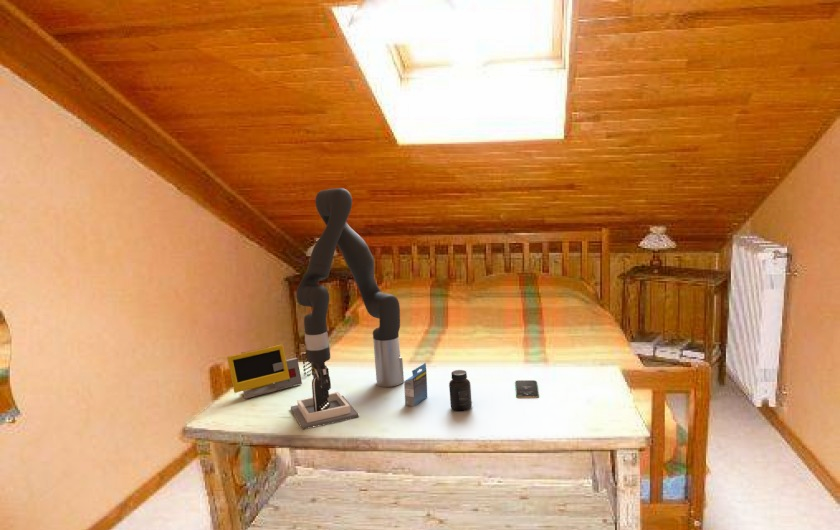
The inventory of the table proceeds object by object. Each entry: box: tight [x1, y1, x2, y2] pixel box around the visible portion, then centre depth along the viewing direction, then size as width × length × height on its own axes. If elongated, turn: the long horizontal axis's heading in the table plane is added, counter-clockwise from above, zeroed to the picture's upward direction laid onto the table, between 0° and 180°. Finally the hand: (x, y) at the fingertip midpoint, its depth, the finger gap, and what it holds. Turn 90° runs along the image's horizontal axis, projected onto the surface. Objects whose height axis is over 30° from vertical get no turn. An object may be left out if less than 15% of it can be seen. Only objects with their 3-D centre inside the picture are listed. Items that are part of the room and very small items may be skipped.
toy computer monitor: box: [226, 344, 290, 400], centre depth 222 cm, size 20×8×16 cm, turn 122°
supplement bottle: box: [448, 369, 473, 413], centre depth 197 cm, size 7×7×12 cm
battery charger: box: [311, 376, 332, 412], centre depth 199 cm, size 7×4×11 cm, turn 162°
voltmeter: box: [273, 352, 312, 391], centre depth 234 cm, size 27×11×10 cm, turn 158°
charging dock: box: [290, 391, 360, 430], centre depth 200 cm, size 18×18×4 cm
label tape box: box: [403, 362, 428, 407], centre depth 205 cm, size 9×4×12 cm, turn 150°
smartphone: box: [514, 379, 540, 399], centre depth 209 cm, size 8×1×15 cm
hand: (322, 393), depth 200 cm, fingers open, 8 cm apart
